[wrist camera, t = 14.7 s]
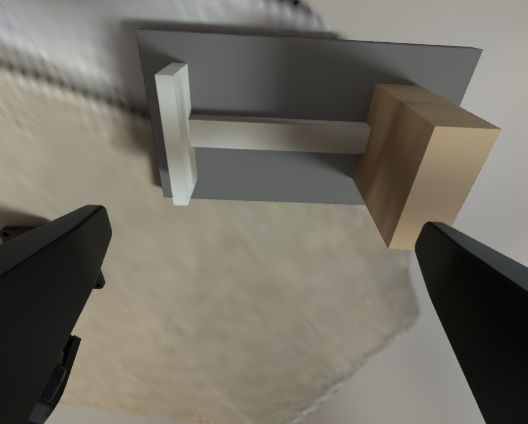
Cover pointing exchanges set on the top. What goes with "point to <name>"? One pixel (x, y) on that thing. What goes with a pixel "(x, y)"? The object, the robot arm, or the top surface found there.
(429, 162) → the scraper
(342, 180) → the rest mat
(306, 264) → the top surface
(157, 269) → the top surface
